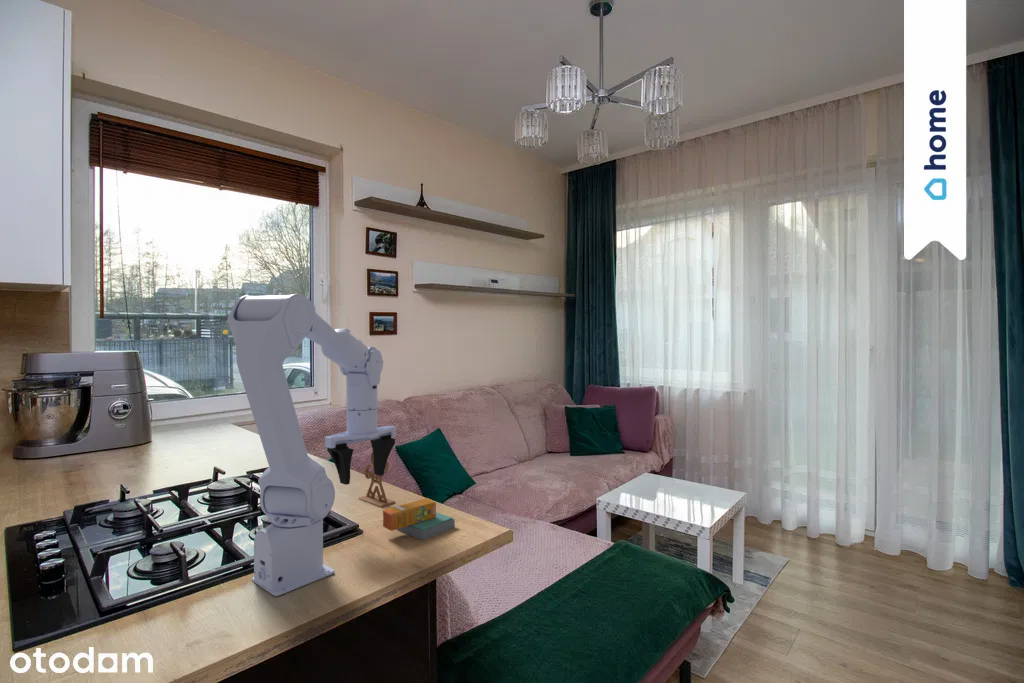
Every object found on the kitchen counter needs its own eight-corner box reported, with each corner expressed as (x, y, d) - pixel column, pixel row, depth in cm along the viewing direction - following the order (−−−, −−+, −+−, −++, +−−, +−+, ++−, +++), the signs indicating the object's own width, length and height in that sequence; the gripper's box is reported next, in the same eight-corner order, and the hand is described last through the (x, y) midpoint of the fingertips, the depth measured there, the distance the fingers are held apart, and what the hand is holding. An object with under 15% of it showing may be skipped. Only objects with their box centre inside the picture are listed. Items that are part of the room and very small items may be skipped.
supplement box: (391, 514, 90) (436, 500, 97) (381, 509, 93) (426, 496, 100) (392, 532, 90) (437, 517, 97) (382, 527, 93) (427, 513, 100)
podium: (423, 540, 91) (423, 529, 91) (395, 530, 96) (395, 519, 96) (454, 527, 97) (454, 517, 97) (427, 518, 102) (427, 508, 102)
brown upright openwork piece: (357, 501, 113) (357, 449, 113) (372, 497, 116) (372, 446, 116) (381, 510, 107) (381, 454, 107) (396, 505, 110) (395, 451, 110)
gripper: (339, 415, 88) (340, 491, 88) (405, 406, 99) (405, 474, 99) (318, 411, 92) (319, 484, 93) (383, 403, 104) (384, 468, 104)
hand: (362, 478), depth 96 cm, fingers open, 7 cm apart
